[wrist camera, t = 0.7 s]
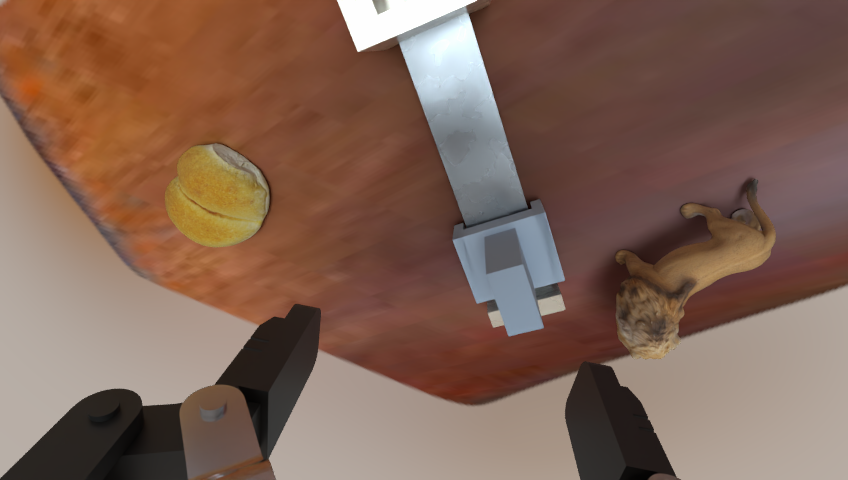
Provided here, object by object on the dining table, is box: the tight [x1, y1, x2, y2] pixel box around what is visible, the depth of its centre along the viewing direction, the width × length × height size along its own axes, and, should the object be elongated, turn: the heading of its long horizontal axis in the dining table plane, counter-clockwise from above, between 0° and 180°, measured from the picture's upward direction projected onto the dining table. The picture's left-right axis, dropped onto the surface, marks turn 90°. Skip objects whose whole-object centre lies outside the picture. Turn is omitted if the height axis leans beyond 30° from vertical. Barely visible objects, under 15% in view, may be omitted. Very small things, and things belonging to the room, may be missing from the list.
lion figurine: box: [615, 179, 776, 359], centre depth 32 cm, size 15×5×9 cm, turn 141°
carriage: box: [453, 199, 565, 336], centre depth 32 cm, size 7×6×9 cm
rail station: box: [337, 0, 566, 328], centre depth 30 cm, size 8×30×8 cm, turn 21°
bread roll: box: [165, 143, 270, 247], centre depth 37 cm, size 8×9×4 cm
